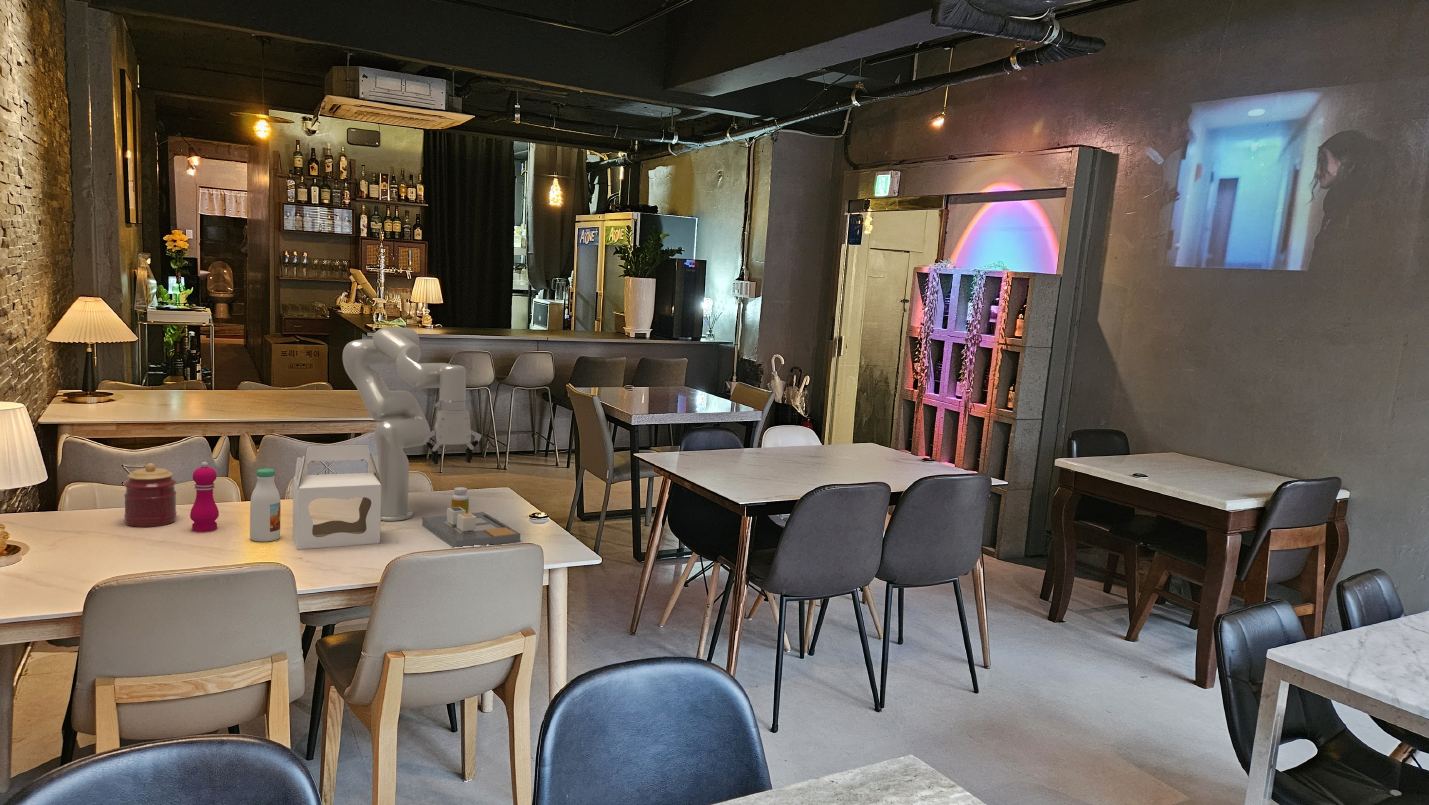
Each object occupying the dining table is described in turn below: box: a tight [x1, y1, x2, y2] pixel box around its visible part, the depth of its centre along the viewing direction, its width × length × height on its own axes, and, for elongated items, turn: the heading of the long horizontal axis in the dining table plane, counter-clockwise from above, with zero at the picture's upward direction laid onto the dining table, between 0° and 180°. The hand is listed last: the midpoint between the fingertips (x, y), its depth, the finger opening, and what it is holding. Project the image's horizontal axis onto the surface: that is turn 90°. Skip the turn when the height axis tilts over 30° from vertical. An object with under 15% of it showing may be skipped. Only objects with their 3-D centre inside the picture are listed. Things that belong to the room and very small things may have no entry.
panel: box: [421, 511, 521, 548], centre depth 271 cm, size 20×28×3 cm
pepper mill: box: [189, 461, 220, 533], centre depth 255 cm, size 7×7×20 cm
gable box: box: [292, 443, 382, 551], centre depth 253 cm, size 22×13×28 cm, turn 120°
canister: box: [123, 462, 177, 528], centre depth 259 cm, size 13×13×18 cm
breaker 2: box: [457, 512, 476, 531], centre depth 265 cm, size 4×5×4 cm
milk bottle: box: [249, 468, 281, 543], centre depth 250 cm, size 8×8×20 cm
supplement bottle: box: [450, 486, 470, 513], centre depth 288 cm, size 5×5×10 cm
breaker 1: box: [446, 507, 466, 525], centre depth 271 cm, size 4×5×4 cm
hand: (452, 462), depth 265 cm, fingers open, 9 cm apart
